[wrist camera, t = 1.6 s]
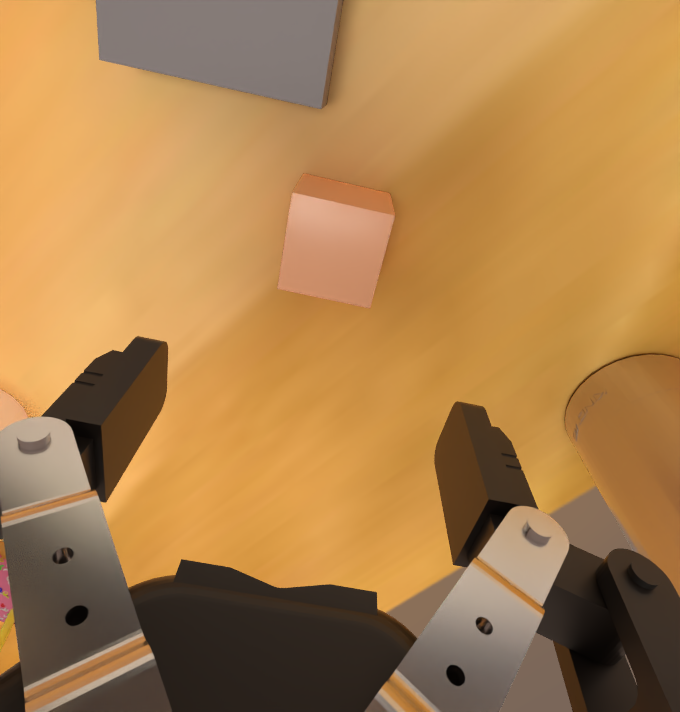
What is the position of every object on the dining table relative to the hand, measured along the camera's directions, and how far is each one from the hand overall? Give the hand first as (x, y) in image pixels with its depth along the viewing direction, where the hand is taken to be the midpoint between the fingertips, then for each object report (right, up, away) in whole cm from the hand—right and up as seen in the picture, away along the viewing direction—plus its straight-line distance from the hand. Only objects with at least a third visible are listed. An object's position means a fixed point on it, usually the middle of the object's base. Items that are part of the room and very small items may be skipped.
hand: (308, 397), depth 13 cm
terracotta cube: (+1, +9, +15) cm, 17 cm away
